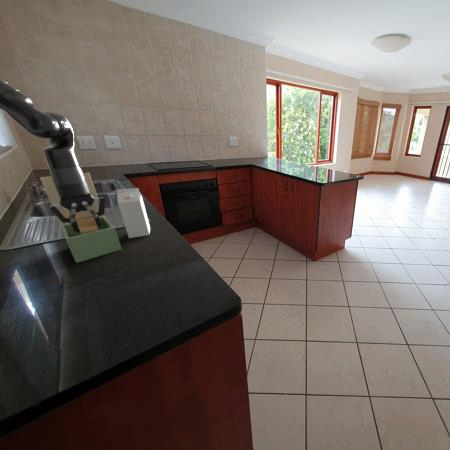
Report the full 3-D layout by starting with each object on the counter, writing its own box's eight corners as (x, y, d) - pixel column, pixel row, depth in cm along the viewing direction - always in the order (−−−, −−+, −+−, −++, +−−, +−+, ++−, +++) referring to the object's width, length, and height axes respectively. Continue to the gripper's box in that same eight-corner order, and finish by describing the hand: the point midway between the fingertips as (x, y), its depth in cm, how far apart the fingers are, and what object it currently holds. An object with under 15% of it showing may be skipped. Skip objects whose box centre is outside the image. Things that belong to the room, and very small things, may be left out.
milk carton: (131, 232, 99) (117, 187, 92) (150, 228, 102) (139, 186, 95) (128, 238, 94) (114, 192, 86) (149, 235, 97) (137, 190, 89)
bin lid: (89, 172, 86) (87, 171, 89) (39, 177, 77) (39, 176, 81) (104, 215, 92) (101, 213, 95) (60, 224, 83) (59, 221, 86)
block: (79, 230, 82) (74, 218, 80) (96, 226, 85) (91, 214, 83) (81, 234, 79) (76, 221, 77) (98, 230, 82) (94, 218, 80)
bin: (121, 249, 86) (114, 227, 82) (76, 263, 77) (65, 239, 74) (111, 236, 96) (104, 216, 92) (69, 247, 87) (60, 225, 84)
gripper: (96, 176, 82) (111, 221, 89) (37, 182, 73) (59, 232, 79) (100, 179, 78) (116, 226, 84) (38, 187, 68) (61, 239, 75)
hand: (88, 229), depth 82 cm, fingers open, 4 cm apart
